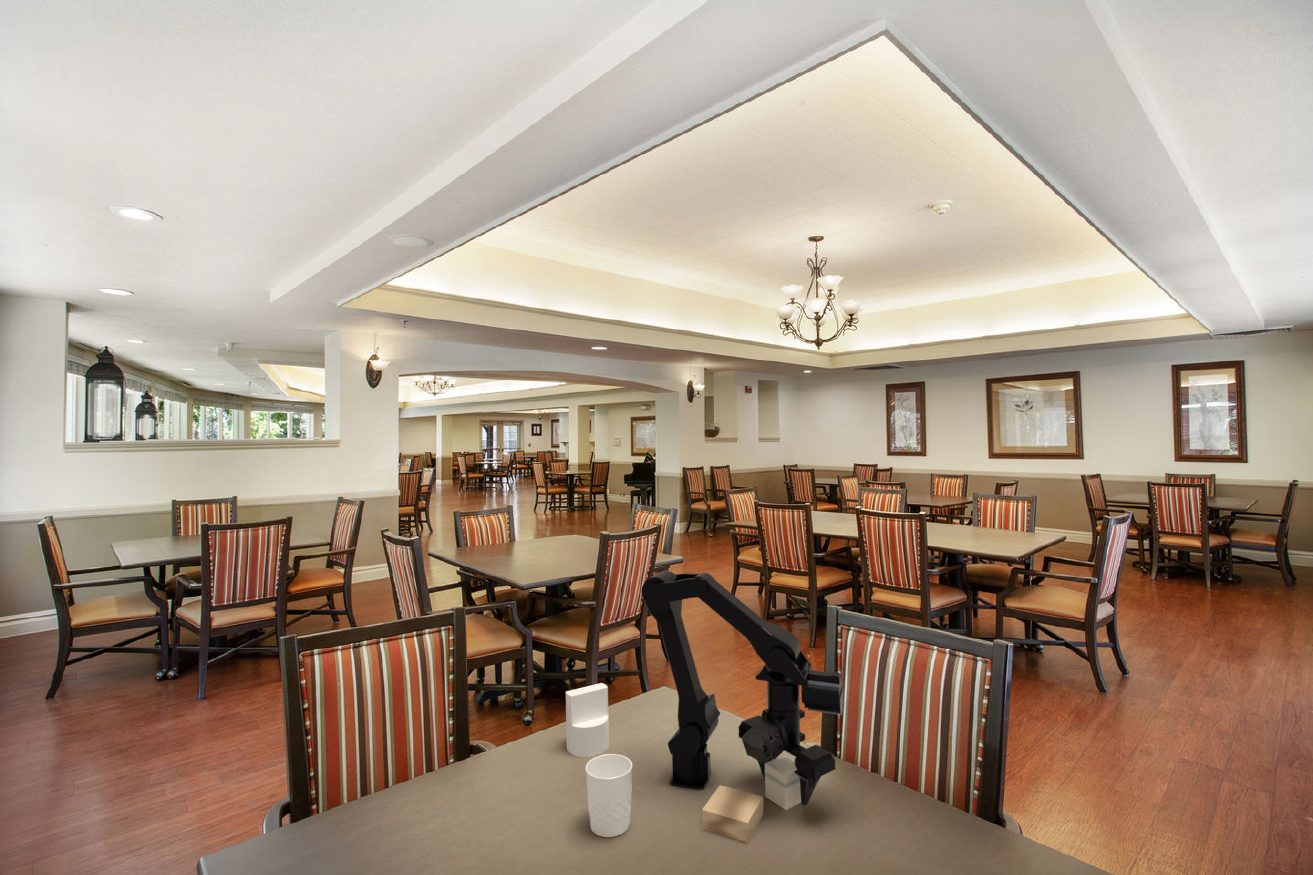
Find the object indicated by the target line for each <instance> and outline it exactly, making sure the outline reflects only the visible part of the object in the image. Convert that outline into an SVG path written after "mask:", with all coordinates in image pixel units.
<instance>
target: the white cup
mask: <svg viewBox="0 0 1313 875" xmlns="http://www.w3.org/2000/svg"><path fill="white" fill-rule="evenodd" d="M585 778H586V796H587V807H588V808H587V809H588V815H589V826H590V830H591V831H592V832H593V833H594V834H595V835H596V836H599V837H602V838H615V837H618V836H621V835H623V834H624V833H625V832H627V831H628V830H629V828H630V824H631V808H632V793H633V791H632V790H633V762H632V761H631V759H630V758H628V757H627V756H625V755H622V754H618V753H605V754H601V755H600V754H599V755H596V756H594V757H593V758H591V759H590V760H588V762H587V763H586V765H585Z"/></svg>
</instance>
